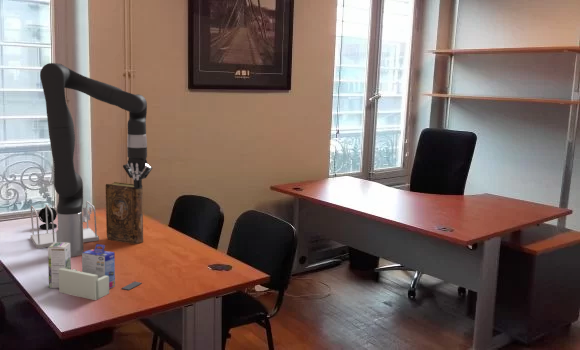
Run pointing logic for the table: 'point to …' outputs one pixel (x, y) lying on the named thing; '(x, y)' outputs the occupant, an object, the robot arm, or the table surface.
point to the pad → (131, 285)
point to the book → (124, 213)
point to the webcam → (49, 217)
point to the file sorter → (50, 238)
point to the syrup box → (58, 261)
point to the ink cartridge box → (99, 263)
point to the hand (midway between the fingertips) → (137, 188)
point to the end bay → (83, 284)
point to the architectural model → (85, 214)
